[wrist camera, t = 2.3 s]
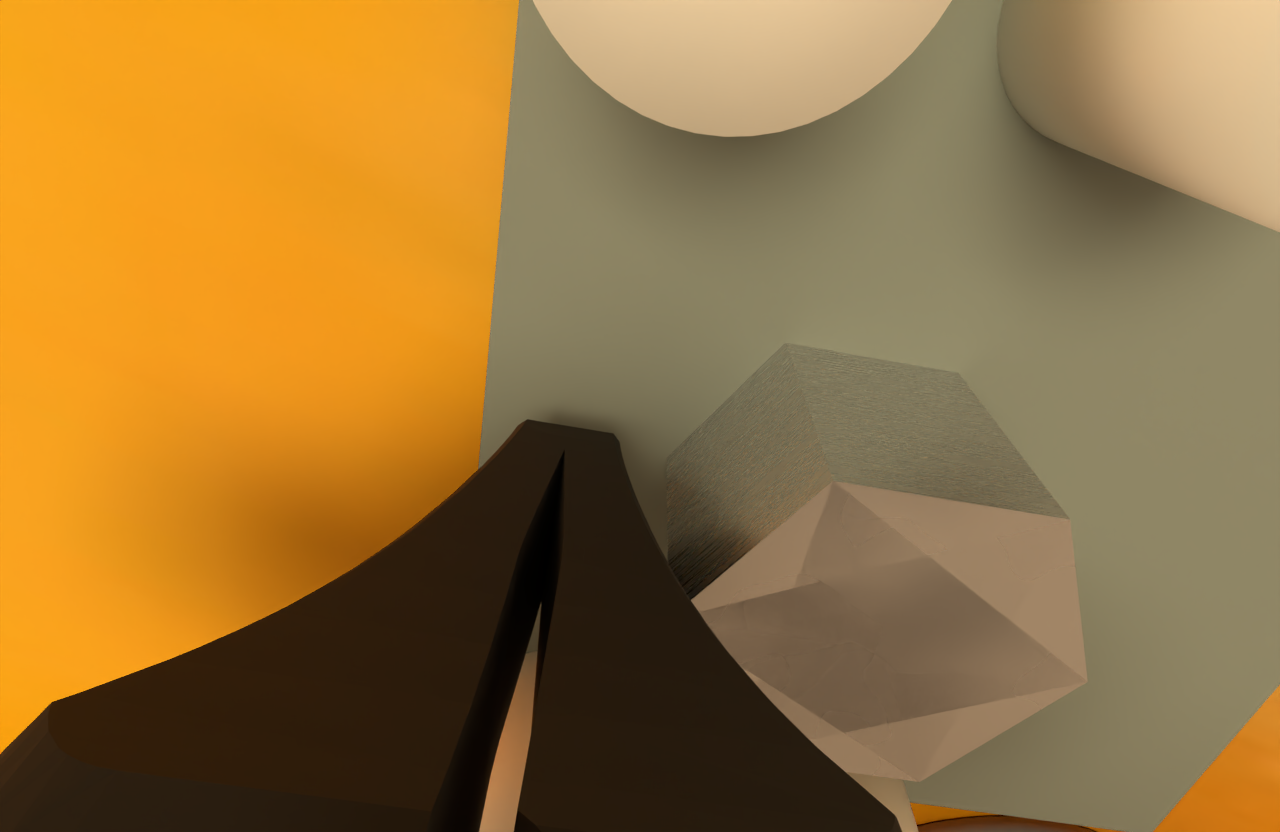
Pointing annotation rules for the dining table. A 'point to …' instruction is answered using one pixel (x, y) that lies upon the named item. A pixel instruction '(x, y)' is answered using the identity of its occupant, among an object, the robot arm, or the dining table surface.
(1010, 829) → the grey round coaster
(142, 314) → the dining table surface
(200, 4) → the dining table surface
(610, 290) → the mat
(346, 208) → the dining table surface
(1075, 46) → the beige capsules
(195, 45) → the dining table surface
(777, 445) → the faceted crystal gem
